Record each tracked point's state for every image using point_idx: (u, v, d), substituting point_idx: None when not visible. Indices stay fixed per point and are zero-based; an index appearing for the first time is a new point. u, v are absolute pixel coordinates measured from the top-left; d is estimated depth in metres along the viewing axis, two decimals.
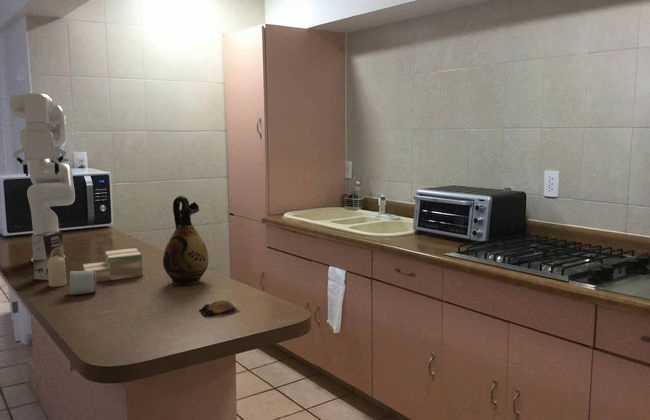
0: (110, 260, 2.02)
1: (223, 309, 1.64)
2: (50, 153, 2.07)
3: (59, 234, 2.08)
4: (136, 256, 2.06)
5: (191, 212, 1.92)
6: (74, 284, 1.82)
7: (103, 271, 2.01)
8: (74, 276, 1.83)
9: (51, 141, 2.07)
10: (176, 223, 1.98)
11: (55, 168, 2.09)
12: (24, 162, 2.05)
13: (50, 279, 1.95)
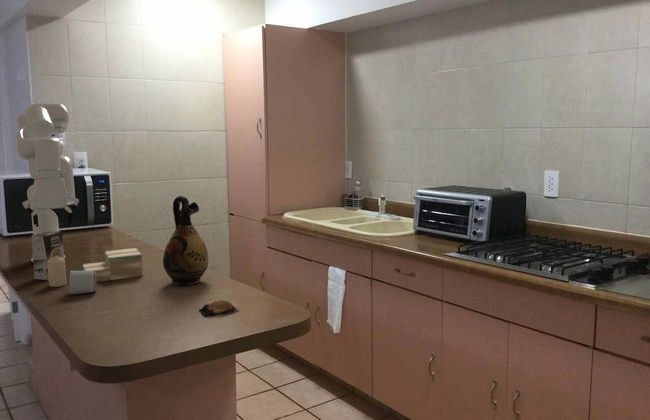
0: (110, 260, 2.02)
1: (223, 309, 1.64)
2: (62, 202, 1.93)
3: (59, 234, 2.08)
4: (136, 256, 2.06)
5: (191, 212, 1.92)
6: (74, 284, 1.83)
7: (103, 271, 2.01)
8: (74, 276, 1.83)
9: (63, 189, 1.92)
10: (176, 223, 1.98)
11: (67, 218, 1.94)
12: (34, 212, 1.90)
13: (50, 279, 1.95)
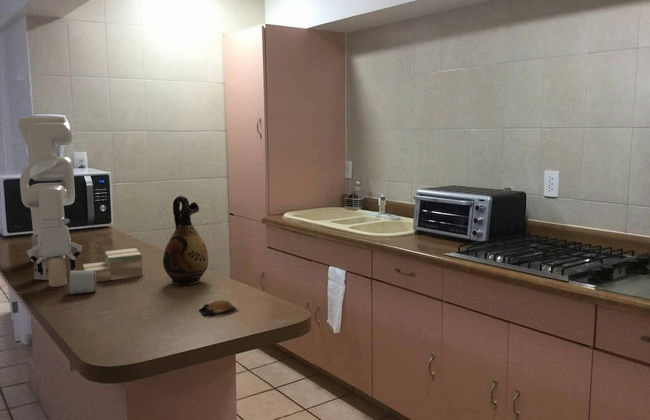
0: (110, 260, 2.02)
1: (223, 309, 1.65)
2: (66, 250, 1.95)
3: None
4: (136, 256, 2.06)
5: (191, 212, 1.92)
6: (74, 284, 1.83)
7: (103, 271, 2.01)
8: (74, 275, 1.84)
9: (67, 237, 1.95)
10: (176, 223, 1.98)
11: (71, 265, 1.97)
12: (38, 261, 1.92)
13: (50, 279, 1.95)
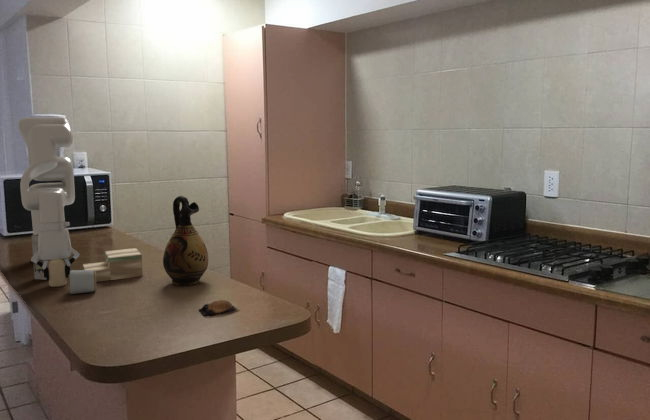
0: (110, 260, 2.02)
1: (223, 309, 1.65)
2: (66, 253, 1.95)
3: None
4: (136, 256, 2.06)
5: (191, 212, 1.92)
6: (74, 283, 1.83)
7: (103, 271, 2.01)
8: (74, 275, 1.84)
9: (67, 240, 1.95)
10: (176, 223, 1.98)
11: (66, 271, 1.97)
12: (44, 266, 1.94)
13: (50, 279, 1.95)
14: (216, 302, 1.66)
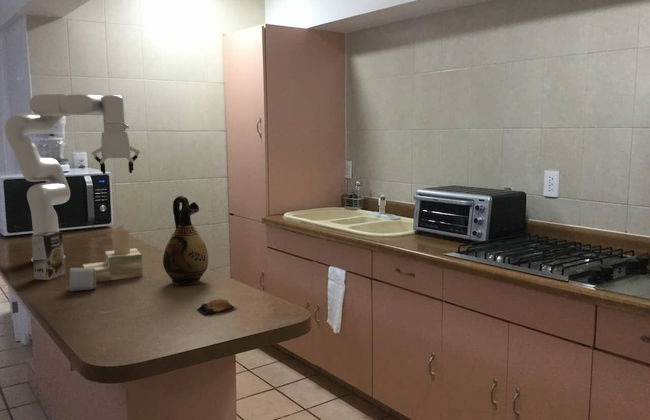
0: (110, 260, 2.02)
1: (222, 307, 1.66)
2: (126, 152, 2.17)
3: (59, 234, 2.08)
4: (136, 256, 2.06)
5: (191, 212, 1.92)
6: (74, 281, 1.86)
7: (103, 271, 2.01)
8: (74, 273, 1.87)
9: (127, 141, 2.17)
10: (176, 223, 1.98)
11: (130, 167, 2.19)
12: (102, 161, 2.15)
13: (116, 247, 2.07)
14: (215, 301, 1.67)
